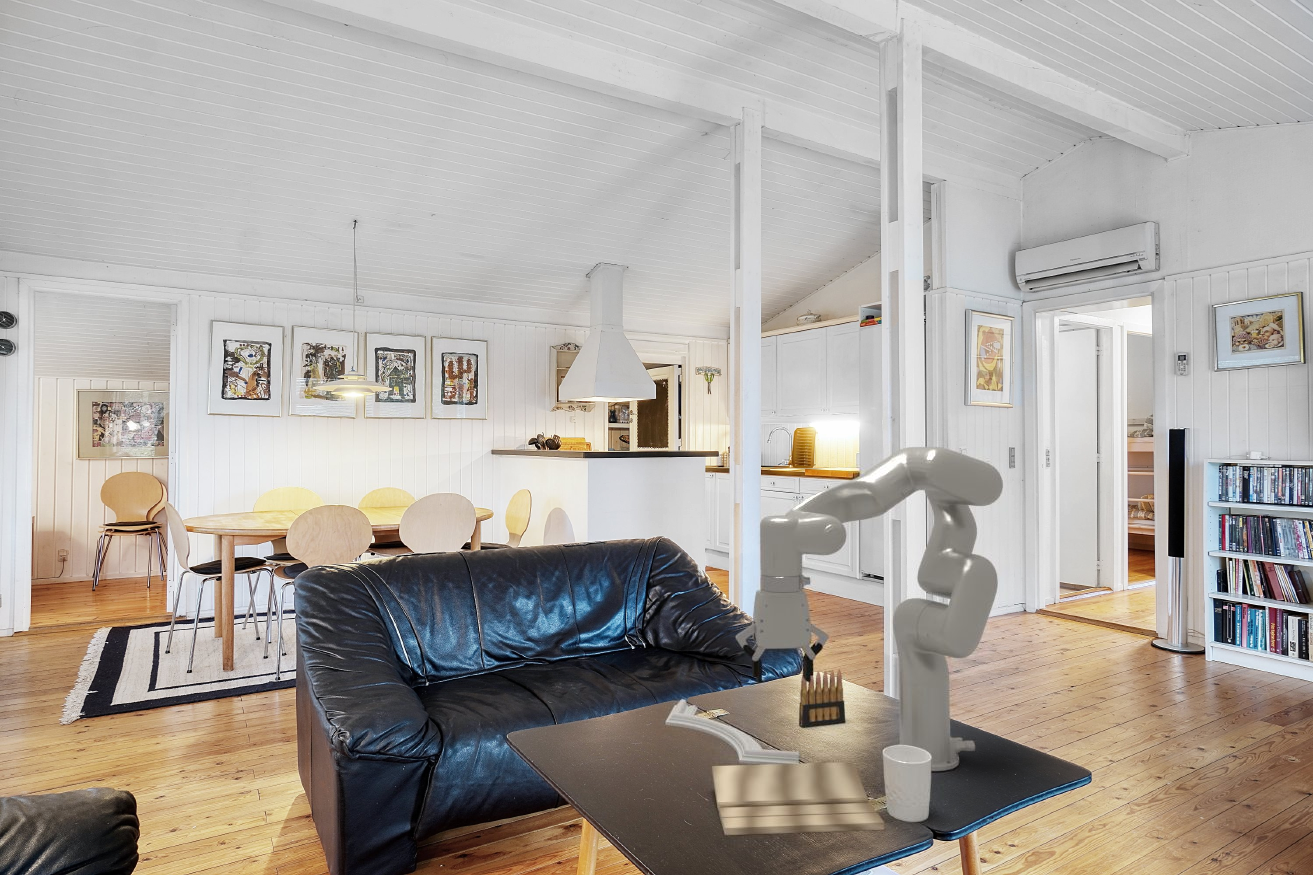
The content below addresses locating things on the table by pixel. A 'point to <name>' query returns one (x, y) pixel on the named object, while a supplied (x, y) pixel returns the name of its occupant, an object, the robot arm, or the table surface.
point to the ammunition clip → (822, 702)
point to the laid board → (800, 819)
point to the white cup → (907, 782)
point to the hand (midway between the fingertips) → (782, 680)
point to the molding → (729, 737)
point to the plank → (787, 784)
